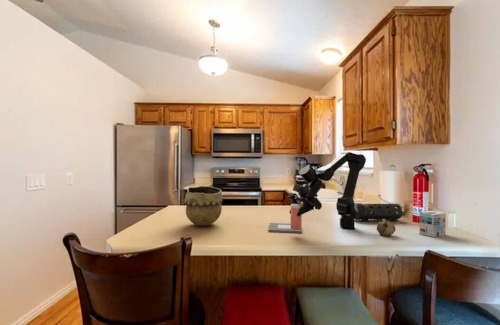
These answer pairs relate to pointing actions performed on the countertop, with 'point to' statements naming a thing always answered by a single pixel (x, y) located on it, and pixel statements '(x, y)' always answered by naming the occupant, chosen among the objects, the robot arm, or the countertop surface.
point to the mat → (282, 228)
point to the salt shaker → (296, 217)
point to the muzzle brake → (378, 211)
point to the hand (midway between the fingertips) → (293, 214)
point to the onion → (385, 228)
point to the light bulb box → (432, 223)
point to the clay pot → (203, 204)
